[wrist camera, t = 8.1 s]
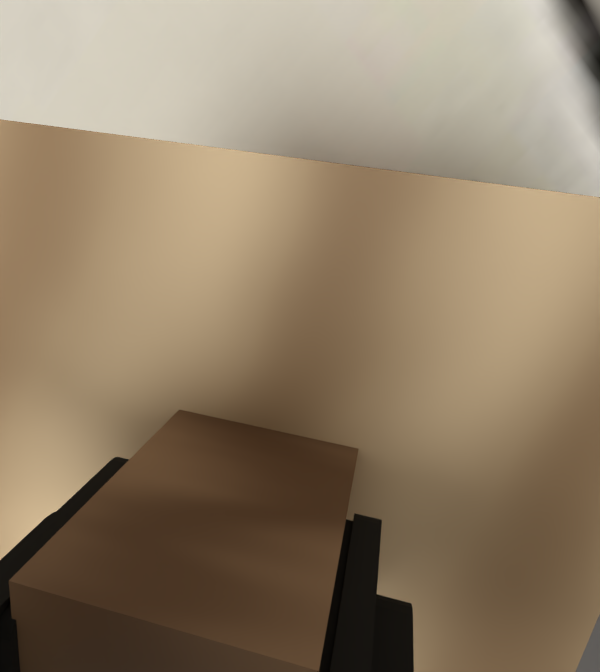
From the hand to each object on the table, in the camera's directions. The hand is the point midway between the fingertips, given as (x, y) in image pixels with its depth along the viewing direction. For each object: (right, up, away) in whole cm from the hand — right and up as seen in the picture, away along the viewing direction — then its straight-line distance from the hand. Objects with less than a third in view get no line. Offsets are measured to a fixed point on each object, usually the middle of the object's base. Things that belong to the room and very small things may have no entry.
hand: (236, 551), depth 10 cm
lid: (0, +1, +2) cm, 2 cm away
